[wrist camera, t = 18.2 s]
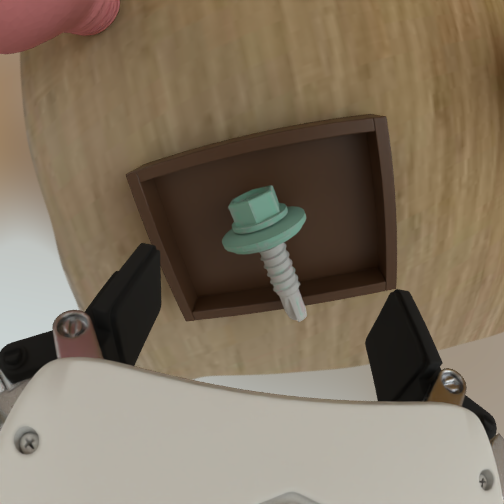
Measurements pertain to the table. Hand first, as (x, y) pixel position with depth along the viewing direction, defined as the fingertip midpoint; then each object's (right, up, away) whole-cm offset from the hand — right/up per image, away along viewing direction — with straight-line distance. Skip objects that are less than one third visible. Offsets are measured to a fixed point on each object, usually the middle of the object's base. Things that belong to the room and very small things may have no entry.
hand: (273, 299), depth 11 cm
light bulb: (-11, +18, +2) cm, 22 cm away
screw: (+1, +2, +9) cm, 9 cm away
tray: (+1, +4, +9) cm, 10 cm away
